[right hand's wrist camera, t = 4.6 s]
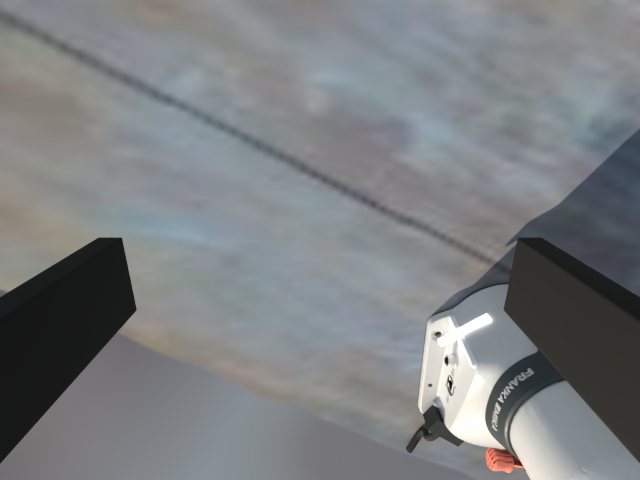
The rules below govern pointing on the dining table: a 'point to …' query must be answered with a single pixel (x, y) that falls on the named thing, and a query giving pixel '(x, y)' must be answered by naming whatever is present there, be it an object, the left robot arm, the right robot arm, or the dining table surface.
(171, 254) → the dining table surface
